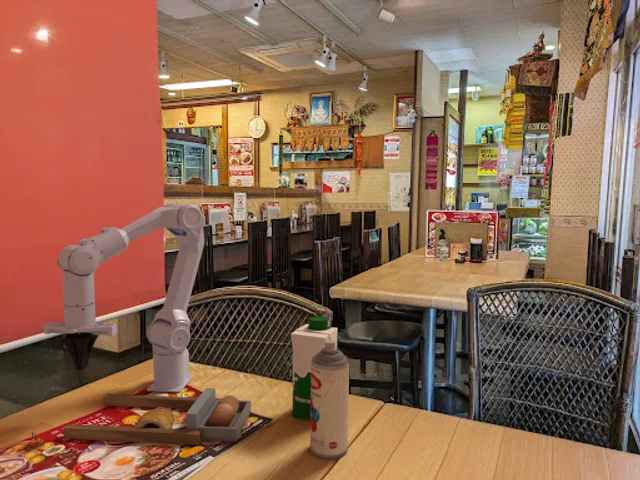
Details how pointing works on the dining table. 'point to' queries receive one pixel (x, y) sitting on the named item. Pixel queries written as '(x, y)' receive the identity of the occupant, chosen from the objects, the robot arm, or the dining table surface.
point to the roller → (224, 412)
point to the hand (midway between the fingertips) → (81, 368)
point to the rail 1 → (149, 401)
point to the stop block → (200, 409)
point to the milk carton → (307, 361)
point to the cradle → (226, 432)
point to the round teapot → (35, 443)
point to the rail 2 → (132, 434)
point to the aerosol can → (329, 402)
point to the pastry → (157, 419)
